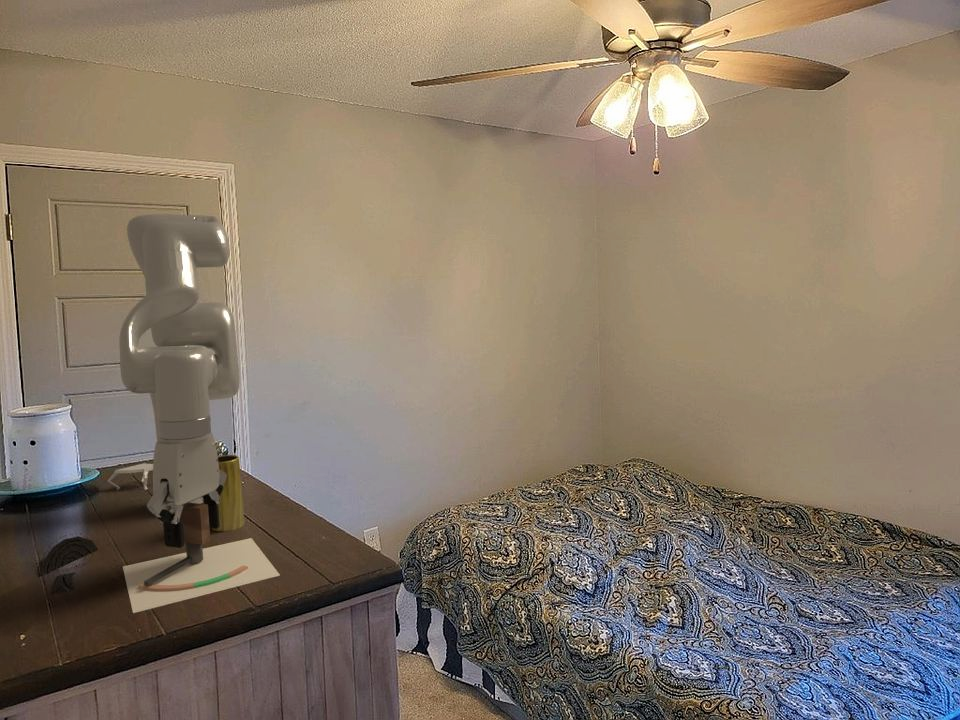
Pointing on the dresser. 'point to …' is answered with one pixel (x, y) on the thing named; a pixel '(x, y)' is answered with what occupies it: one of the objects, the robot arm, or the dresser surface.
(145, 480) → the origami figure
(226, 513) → the vase
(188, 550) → the tuner needle gauge
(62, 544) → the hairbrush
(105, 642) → the dresser surface
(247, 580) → the board
